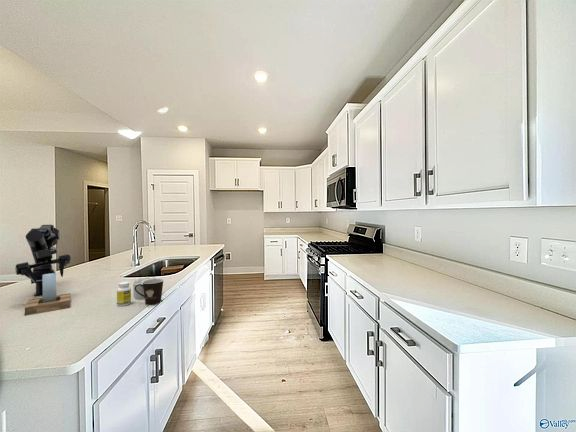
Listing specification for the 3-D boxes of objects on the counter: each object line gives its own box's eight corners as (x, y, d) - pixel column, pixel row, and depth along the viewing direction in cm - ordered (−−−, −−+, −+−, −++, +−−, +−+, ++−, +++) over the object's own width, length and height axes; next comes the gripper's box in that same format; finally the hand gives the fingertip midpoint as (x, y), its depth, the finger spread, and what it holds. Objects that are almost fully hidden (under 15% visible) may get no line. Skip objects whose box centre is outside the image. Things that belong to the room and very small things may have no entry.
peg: (43, 305, 114) (42, 274, 114) (56, 303, 117) (56, 272, 117) (42, 308, 111) (41, 276, 111) (55, 306, 114) (55, 274, 113)
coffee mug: (167, 300, 122) (167, 279, 122) (152, 306, 114) (152, 284, 114) (148, 298, 126) (148, 277, 126) (133, 303, 118) (133, 282, 118)
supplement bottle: (124, 306, 114) (124, 284, 114) (113, 305, 115) (113, 284, 115) (133, 302, 119) (133, 281, 119) (123, 301, 121) (123, 281, 120)
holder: (29, 306, 115) (29, 299, 115) (70, 299, 124) (70, 293, 124) (24, 315, 104) (24, 308, 104) (69, 307, 113) (69, 300, 113)
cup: (136, 300, 122) (136, 282, 122) (131, 294, 132) (131, 277, 132) (159, 296, 129) (159, 279, 129) (153, 290, 139) (153, 274, 139)
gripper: (12, 247, 111) (21, 278, 107) (67, 238, 126) (77, 265, 122) (11, 259, 117) (20, 289, 113) (64, 250, 132) (73, 276, 128)
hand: (49, 279), depth 119 cm, fingers open, 9 cm apart
